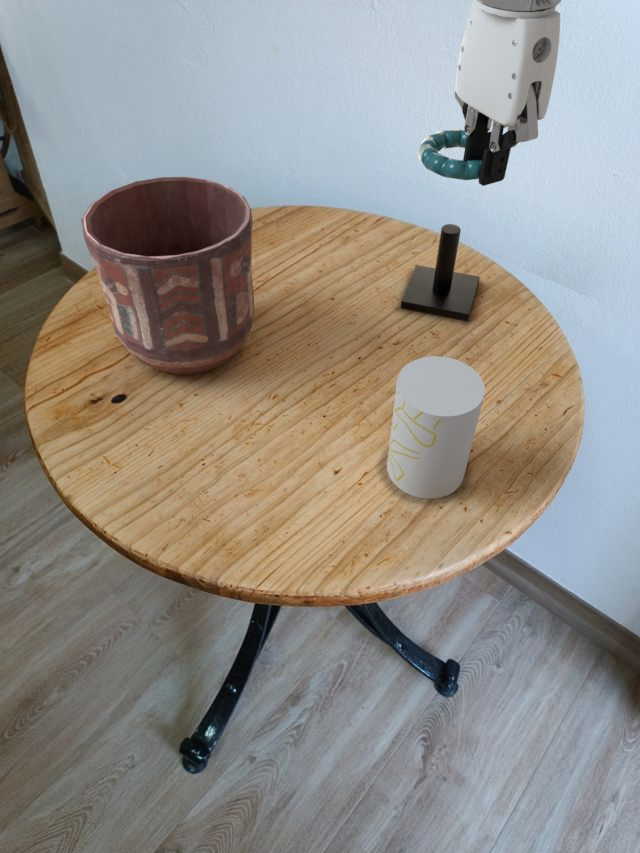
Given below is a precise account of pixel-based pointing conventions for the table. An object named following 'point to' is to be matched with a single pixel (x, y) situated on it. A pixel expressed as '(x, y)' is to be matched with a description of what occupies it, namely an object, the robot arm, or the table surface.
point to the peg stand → (442, 283)
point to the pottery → (175, 270)
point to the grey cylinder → (433, 425)
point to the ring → (443, 163)
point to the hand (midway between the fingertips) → (482, 174)
